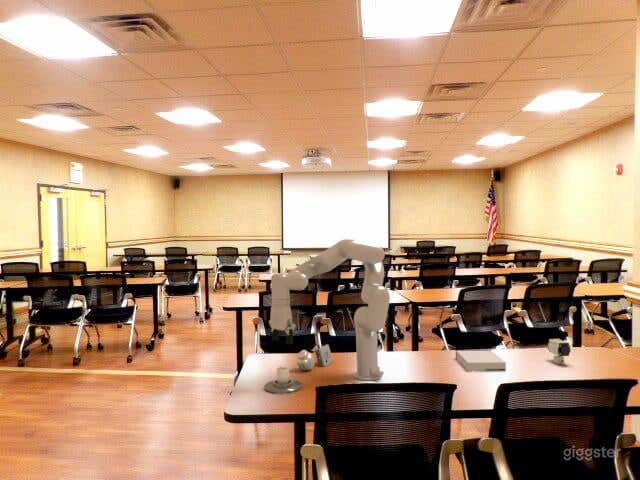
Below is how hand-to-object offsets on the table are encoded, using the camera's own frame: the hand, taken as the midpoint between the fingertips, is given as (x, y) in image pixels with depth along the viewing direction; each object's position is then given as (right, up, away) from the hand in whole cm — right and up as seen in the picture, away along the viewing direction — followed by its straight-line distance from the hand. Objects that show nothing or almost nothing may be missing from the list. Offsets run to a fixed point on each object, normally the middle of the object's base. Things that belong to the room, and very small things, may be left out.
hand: (282, 342), depth 203 cm
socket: (0, -19, 0) cm, 19 cm away
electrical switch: (+18, -19, +34) cm, 43 cm away
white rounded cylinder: (0, -18, 0) cm, 18 cm away
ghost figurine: (+9, -19, +25) cm, 32 cm away
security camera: (+131, -16, +26) cm, 134 cm away
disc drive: (+93, -17, +27) cm, 99 cm away
